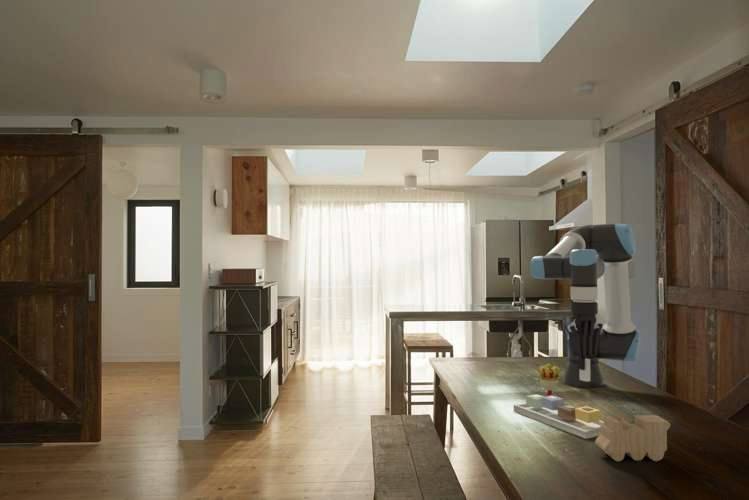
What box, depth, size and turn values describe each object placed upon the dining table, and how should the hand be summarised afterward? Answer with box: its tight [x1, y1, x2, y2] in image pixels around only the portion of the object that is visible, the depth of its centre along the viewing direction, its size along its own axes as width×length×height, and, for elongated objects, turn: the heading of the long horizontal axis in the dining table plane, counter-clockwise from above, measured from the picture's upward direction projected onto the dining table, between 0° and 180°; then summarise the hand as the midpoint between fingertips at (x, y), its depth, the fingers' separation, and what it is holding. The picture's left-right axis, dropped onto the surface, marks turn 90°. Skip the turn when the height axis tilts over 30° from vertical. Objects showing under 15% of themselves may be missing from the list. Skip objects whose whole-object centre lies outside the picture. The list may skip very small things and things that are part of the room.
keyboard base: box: [513, 402, 604, 440], centre depth 164 cm, size 12×30×2 cm, turn 26°
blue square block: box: [541, 394, 565, 410], centre depth 168 cm, size 5×5×3 cm
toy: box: [537, 363, 561, 396], centre depth 186 cm, size 7×7×15 cm
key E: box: [525, 393, 545, 409], centre depth 174 cm, size 5×5×3 cm
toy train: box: [594, 414, 672, 462], centre depth 135 cm, size 6×17×10 cm, turn 91°
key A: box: [575, 405, 601, 423], centre depth 155 cm, size 5×5×3 cm
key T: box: [558, 404, 579, 421], centre depth 161 cm, size 5×5×3 cm
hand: (584, 380), depth 155 cm, fingers closed
